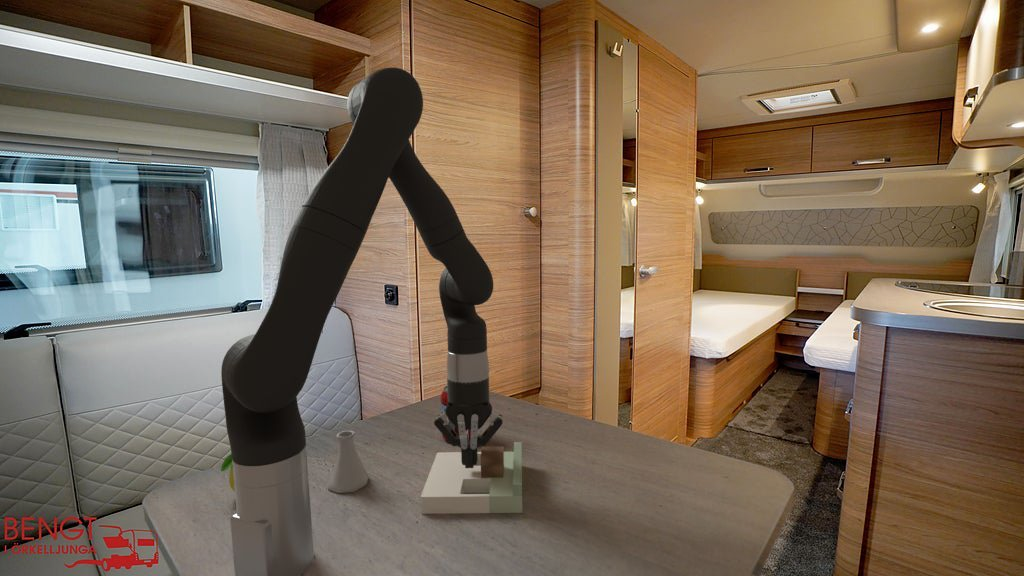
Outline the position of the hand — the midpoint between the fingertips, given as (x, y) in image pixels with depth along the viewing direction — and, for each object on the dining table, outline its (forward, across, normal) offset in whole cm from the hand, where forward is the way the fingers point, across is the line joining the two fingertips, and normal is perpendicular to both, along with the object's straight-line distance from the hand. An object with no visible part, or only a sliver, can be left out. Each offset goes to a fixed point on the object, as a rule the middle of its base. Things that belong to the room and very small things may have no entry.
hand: (469, 466), depth 89 cm
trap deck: (+4, +1, 0) cm, 4 cm away
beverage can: (+4, -5, +22) cm, 23 cm away
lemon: (+5, -40, -1) cm, 41 cm away
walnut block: (+1, +4, 0) cm, 4 cm away
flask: (+5, -23, +2) cm, 24 cm away
